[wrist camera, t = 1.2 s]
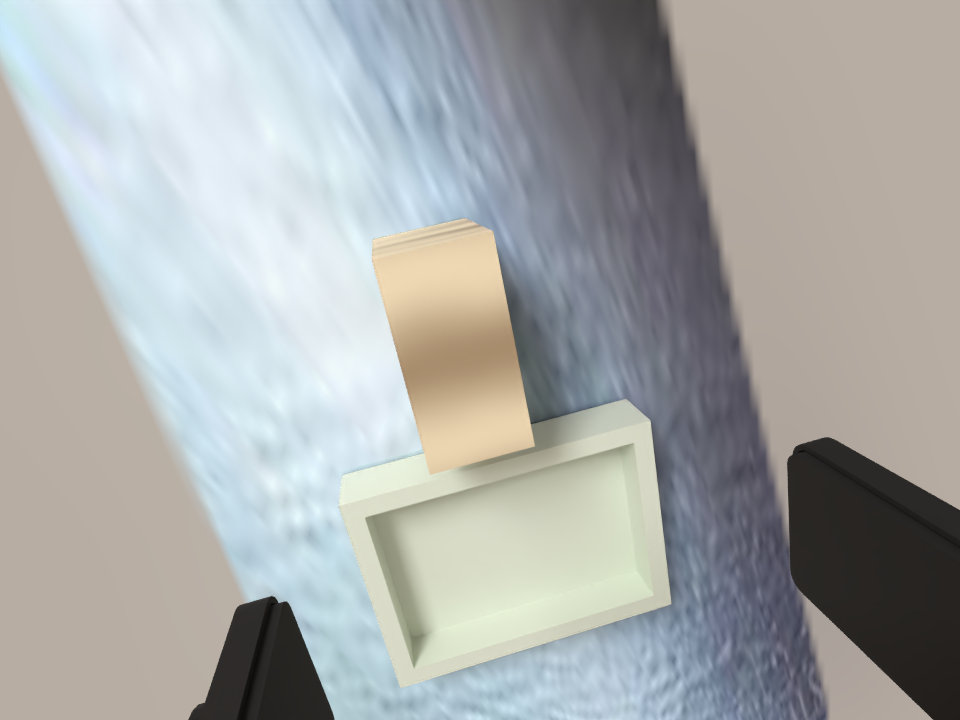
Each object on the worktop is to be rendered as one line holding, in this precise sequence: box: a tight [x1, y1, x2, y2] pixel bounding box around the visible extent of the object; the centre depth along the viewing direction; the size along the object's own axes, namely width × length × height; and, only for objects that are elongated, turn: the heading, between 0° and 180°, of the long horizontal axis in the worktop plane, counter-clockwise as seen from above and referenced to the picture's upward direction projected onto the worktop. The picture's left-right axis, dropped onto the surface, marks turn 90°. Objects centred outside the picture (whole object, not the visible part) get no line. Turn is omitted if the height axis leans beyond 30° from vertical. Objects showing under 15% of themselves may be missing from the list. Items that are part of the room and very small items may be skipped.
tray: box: [339, 399, 671, 688], centre depth 32 cm, size 12×16×3 cm
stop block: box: [372, 218, 535, 475], centre depth 25 cm, size 9×4×7 cm, turn 12°
